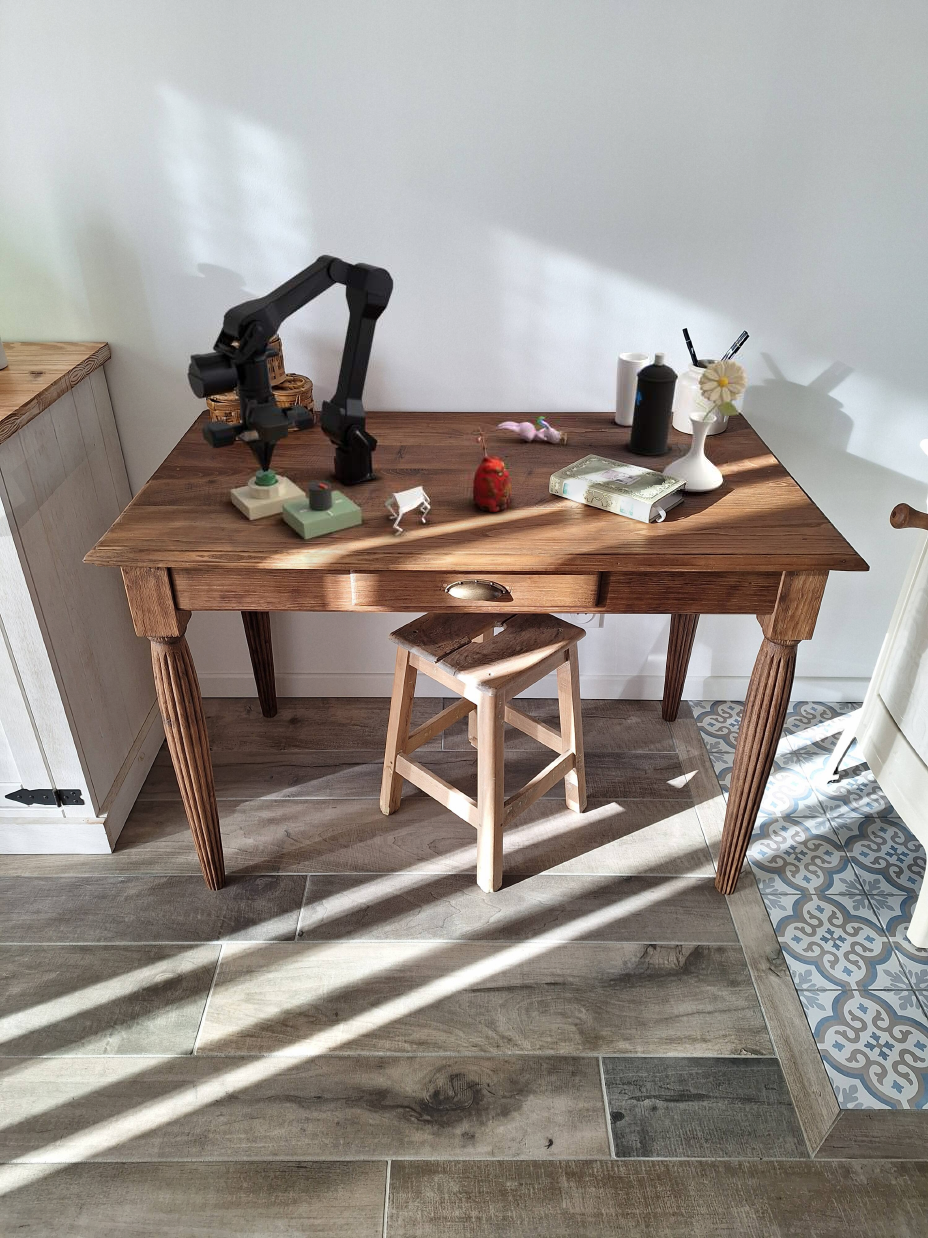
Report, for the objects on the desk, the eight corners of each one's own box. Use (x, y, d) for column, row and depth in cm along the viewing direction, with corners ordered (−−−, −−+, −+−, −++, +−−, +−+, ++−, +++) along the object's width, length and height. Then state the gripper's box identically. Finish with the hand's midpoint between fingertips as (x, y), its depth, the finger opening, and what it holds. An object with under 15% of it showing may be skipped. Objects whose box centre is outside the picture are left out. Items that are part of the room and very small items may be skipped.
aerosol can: (673, 446, 182) (687, 352, 171) (658, 459, 176) (672, 362, 165) (637, 438, 185) (648, 346, 175) (622, 450, 180) (632, 355, 169)
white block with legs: (387, 508, 156) (385, 483, 153) (432, 509, 155) (432, 484, 153) (378, 539, 146) (377, 513, 143) (427, 540, 145) (426, 514, 143)
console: (338, 505, 157) (337, 489, 155) (361, 523, 151) (360, 507, 149) (283, 519, 152) (281, 503, 150) (305, 539, 145) (303, 523, 144)
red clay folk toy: (503, 516, 153) (506, 437, 145) (466, 511, 155) (467, 432, 147) (514, 499, 159) (517, 422, 151) (478, 494, 161) (479, 417, 153)
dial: (304, 506, 149) (302, 483, 147) (322, 499, 152) (320, 476, 149) (319, 513, 147) (317, 490, 145) (337, 505, 150) (335, 483, 147)
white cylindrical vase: (611, 426, 191) (618, 360, 183) (611, 416, 197) (618, 351, 189) (641, 428, 190) (650, 361, 182) (641, 418, 196) (649, 352, 188)
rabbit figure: (563, 442, 187) (496, 429, 186) (570, 416, 184) (502, 403, 183) (564, 453, 182) (495, 439, 181) (570, 427, 178) (500, 413, 178)
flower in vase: (649, 485, 165) (667, 356, 151) (680, 468, 172) (700, 343, 158) (710, 505, 158) (734, 371, 144) (739, 487, 165) (765, 357, 151)
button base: (286, 488, 163) (284, 466, 160) (306, 505, 157) (304, 483, 154) (231, 502, 158) (228, 479, 155) (250, 520, 151) (247, 497, 149)
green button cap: (271, 477, 157) (270, 467, 156) (279, 484, 154) (278, 474, 153) (253, 482, 155) (251, 471, 154) (261, 489, 153) (259, 478, 152)
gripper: (218, 409, 135) (232, 499, 144) (324, 388, 144) (331, 474, 152) (194, 390, 143) (209, 476, 151) (296, 371, 151) (305, 454, 160)
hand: (265, 470), depth 153 cm, fingers closed
